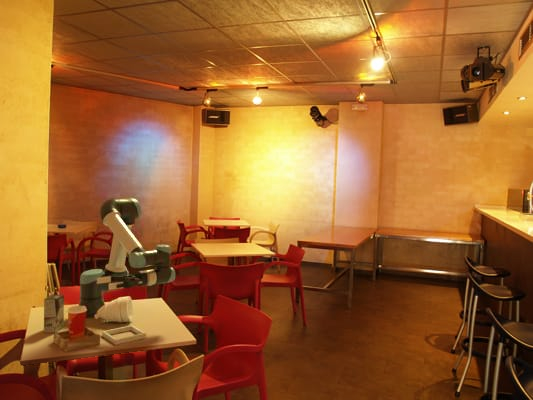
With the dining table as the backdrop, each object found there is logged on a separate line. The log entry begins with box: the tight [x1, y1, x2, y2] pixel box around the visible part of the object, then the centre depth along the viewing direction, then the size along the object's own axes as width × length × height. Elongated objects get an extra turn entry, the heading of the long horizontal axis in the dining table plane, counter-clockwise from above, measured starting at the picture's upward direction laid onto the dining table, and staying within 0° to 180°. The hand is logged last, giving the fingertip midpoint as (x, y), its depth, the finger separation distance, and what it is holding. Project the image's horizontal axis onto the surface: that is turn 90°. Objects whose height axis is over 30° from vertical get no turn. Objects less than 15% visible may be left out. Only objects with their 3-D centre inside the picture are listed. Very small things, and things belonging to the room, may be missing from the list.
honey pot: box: [94, 295, 134, 324], centre depth 234 cm, size 13×13×18 cm
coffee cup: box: [66, 305, 87, 341], centre depth 203 cm, size 8×8×15 cm
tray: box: [101, 324, 147, 346], centre depth 213 cm, size 15×15×2 cm
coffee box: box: [43, 294, 65, 333], centre depth 220 cm, size 9×6×16 cm
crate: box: [53, 326, 101, 353], centre depth 203 cm, size 15×15×4 cm
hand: (102, 283), depth 210 cm, fingers open, 13 cm apart
